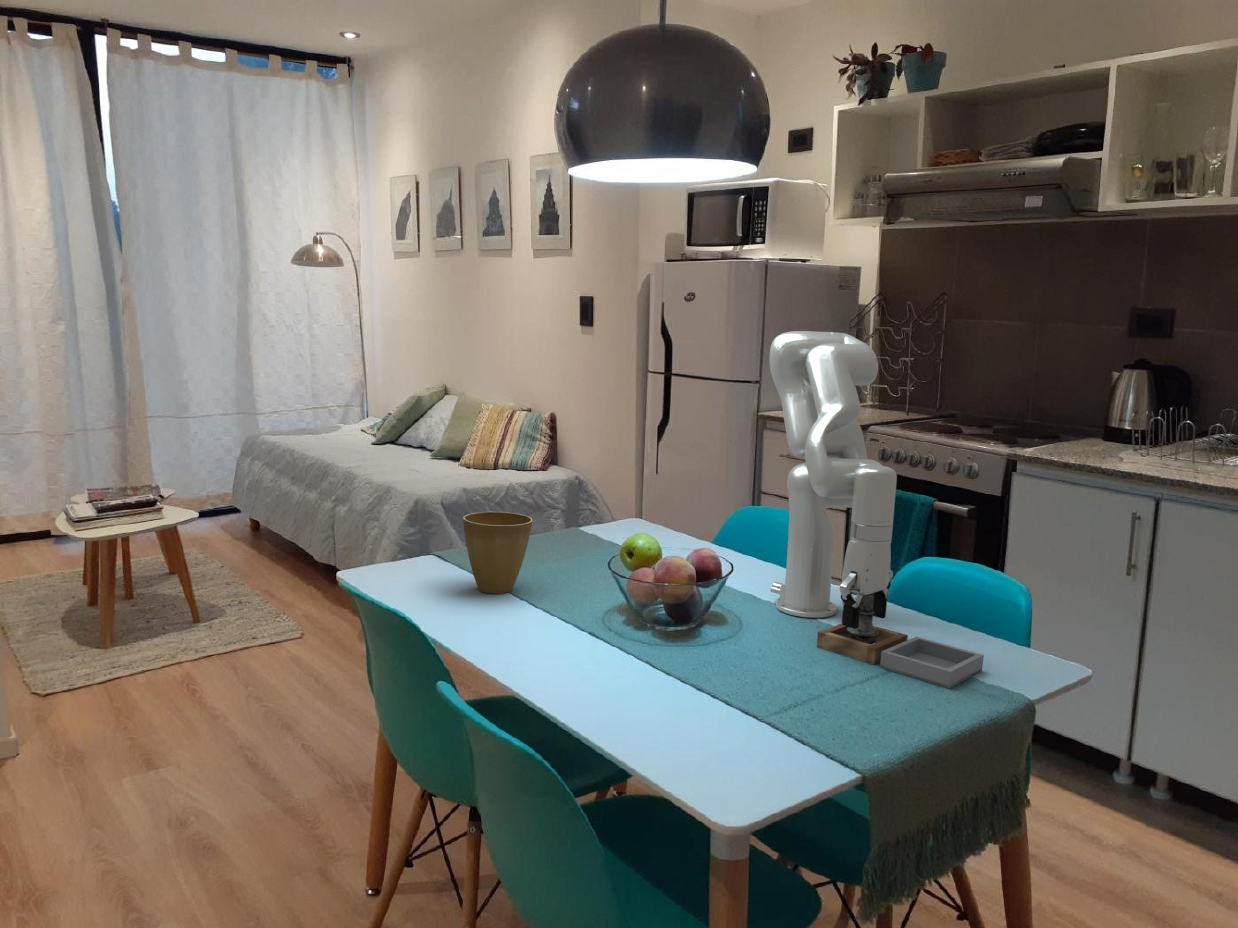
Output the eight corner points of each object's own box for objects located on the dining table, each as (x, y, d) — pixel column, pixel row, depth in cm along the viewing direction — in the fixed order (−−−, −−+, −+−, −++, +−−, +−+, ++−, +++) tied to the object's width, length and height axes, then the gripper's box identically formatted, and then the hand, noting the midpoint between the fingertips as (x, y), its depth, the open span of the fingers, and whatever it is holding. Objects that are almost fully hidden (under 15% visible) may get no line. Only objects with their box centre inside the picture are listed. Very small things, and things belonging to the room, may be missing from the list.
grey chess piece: (878, 655, 181) (883, 592, 179) (846, 652, 182) (851, 589, 180) (876, 645, 186) (882, 584, 185) (845, 642, 187) (850, 581, 186)
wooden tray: (816, 647, 184) (818, 631, 183) (850, 634, 192) (851, 619, 192) (873, 664, 176) (875, 648, 175) (906, 650, 184) (907, 634, 184)
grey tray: (879, 667, 174) (881, 651, 174) (915, 651, 184) (916, 636, 183) (948, 688, 165) (950, 671, 165) (982, 670, 175) (983, 654, 174)
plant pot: (503, 603, 203) (505, 528, 201) (447, 590, 211) (448, 518, 208) (543, 587, 216) (545, 516, 214) (489, 576, 224) (491, 507, 221)
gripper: (876, 523, 189) (869, 608, 192) (828, 534, 177) (821, 625, 180) (912, 530, 184) (904, 617, 187) (864, 542, 172) (857, 636, 174)
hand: (863, 621), depth 183 cm, fingers open, 9 cm apart
